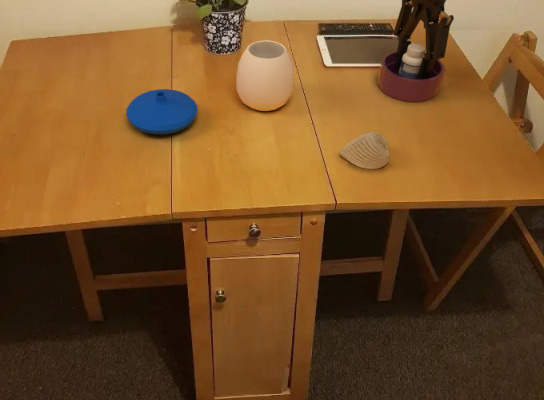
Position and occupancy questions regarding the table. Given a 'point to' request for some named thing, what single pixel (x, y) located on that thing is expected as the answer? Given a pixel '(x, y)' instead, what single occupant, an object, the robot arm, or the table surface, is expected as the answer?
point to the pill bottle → (412, 61)
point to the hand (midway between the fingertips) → (410, 74)
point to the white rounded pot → (265, 75)
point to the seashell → (367, 151)
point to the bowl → (408, 81)
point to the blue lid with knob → (161, 111)
